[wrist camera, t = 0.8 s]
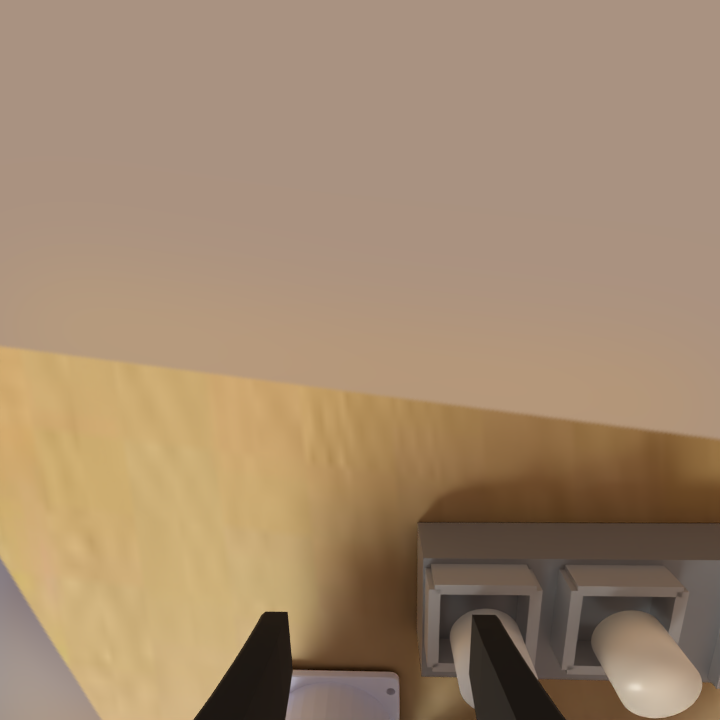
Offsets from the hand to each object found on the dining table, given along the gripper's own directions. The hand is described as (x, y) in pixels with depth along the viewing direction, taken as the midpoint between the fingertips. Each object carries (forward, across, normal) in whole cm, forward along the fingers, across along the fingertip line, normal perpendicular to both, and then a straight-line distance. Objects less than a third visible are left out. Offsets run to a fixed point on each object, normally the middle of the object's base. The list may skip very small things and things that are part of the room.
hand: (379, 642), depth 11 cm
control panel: (+9, -12, +7) cm, 16 cm away
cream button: (+5, -10, +6) cm, 13 cm away
